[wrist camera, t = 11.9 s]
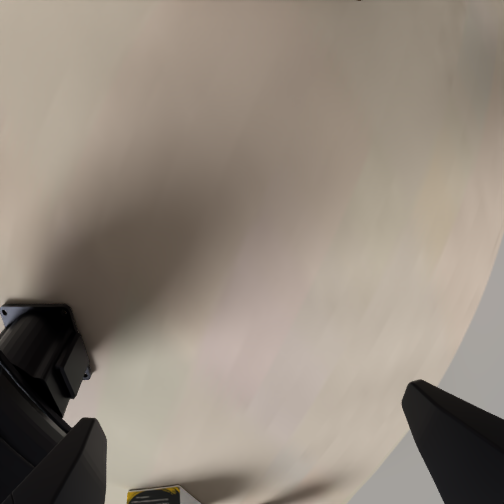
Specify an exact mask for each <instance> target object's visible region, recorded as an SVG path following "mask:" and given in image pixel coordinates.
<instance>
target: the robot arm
mask: <svg viewBox="0 0 504 504" xmlns="http://www.w3.org/2000/svg"><path fill="white" fill-rule="evenodd" d="M63 310H65V311H66V312H67V313H64V312H63ZM5 311H6V312H7V313H6V312H5ZM0 314H1V317H2V320H3V322H4V325H5V329H4V330H3V331H2V332H1V334H0V504H104V503H105V494H106V456H107V439H106V436H105V434H104V432H103V430H102V428H101V426H100V424H99V422H98V420H97V419H96V418H86V417H85V418H82V419H81V420H80V421H79V422H78V423H77V424H76V425H75V426H74V427H73V428H71V427H70V426H69V425H68V424H67V423H66V422H65V421H64V420H63V419H62V418H63V416H64V413H65V410H66V408H67V405H68V402H69V400H70V399H74V398H75V397H76V395H77V393H78V390H79V387H80V385H81V382H82V380H89V379H90V377H91V375H92V372H91V369H90V366H89V358H88V355H87V352H86V349H85V346H84V343H83V340H82V337H81V334H80V333H79V332H78V330H77V327H76V324H75V320H74V317H73V313H72V310H71V308H70V307H69V306H68V305H67V304H4V305H3V306H2V307H1V308H0ZM85 373H86V374H85ZM402 408H403V411H404V414H405V416H406V419H407V421H408V424H409V427H410V430H411V432H412V435H413V438H414V440H415V443H416V445H417V447H418V449H419V452H420V453H421V456H422V458H423V459H424V462H425V464H426V466H427V468H428V470H429V472H430V474H431V476H432V478H433V480H434V482H435V484H436V486H437V489H438V491H439V493H440V495H441V497H442V499H443V501H444V503H445V504H504V419H501V418H499V417H497V416H495V415H493V414H491V413H489V412H486V411H485V410H482V409H480V408H478V407H476V406H474V405H472V404H470V403H468V402H466V401H464V400H462V399H460V398H458V397H456V396H454V395H452V394H449V393H447V392H445V391H444V390H442V389H440V388H438V387H436V386H434V385H432V384H430V383H428V382H426V381H424V380H416V381H412V382H410V383H409V384H408V386H407V388H406V391H405V394H404V396H403V399H402Z"/></svg>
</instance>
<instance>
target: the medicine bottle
mask: <svg viewBox="0 0 504 504" xmlns="http://www.w3.org/2000/svg"><path fill="white" fill-rule="evenodd" d="M127 504H201V503H200V502H199V501H197V500H196V499H195V498H194V497H192V496H191V495H190V494H189V493H188V492H187V491H185V490H184V489H183V488H182V487H181V486H179V485H175V486H168V487H160V488H152V489H143V490H132V491H128V495H127Z"/></svg>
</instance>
